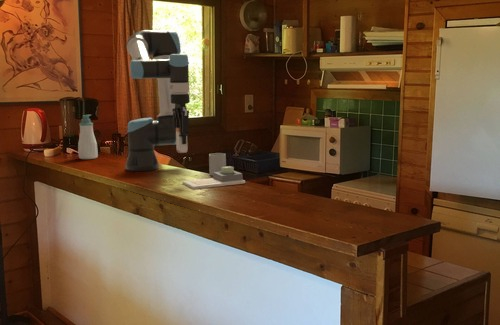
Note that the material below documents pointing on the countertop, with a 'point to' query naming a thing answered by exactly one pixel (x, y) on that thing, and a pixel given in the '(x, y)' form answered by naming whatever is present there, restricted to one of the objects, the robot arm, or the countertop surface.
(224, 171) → the button
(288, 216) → the countertop surface
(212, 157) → the cup
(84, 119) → the soap bottle
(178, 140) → the grey and orange block
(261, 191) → the countertop surface
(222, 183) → the board
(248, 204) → the countertop surface
